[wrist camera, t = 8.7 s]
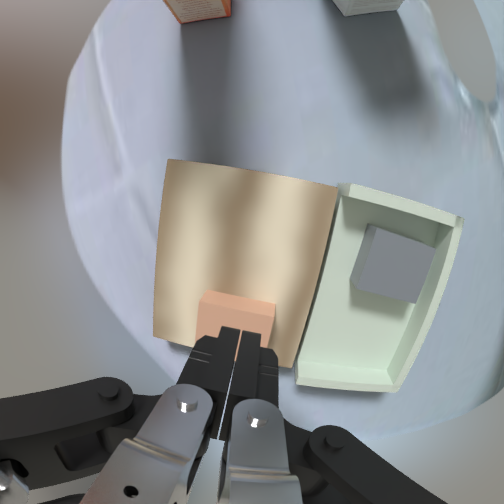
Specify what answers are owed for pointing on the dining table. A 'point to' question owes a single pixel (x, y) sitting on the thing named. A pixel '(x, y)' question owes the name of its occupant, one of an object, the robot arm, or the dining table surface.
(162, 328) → the plate
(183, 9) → the cracker box
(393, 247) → the slate tile
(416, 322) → the box
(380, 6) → the supplement box
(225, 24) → the dining table surface
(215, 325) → the terracotta tile
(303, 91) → the dining table surface
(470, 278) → the dining table surface
